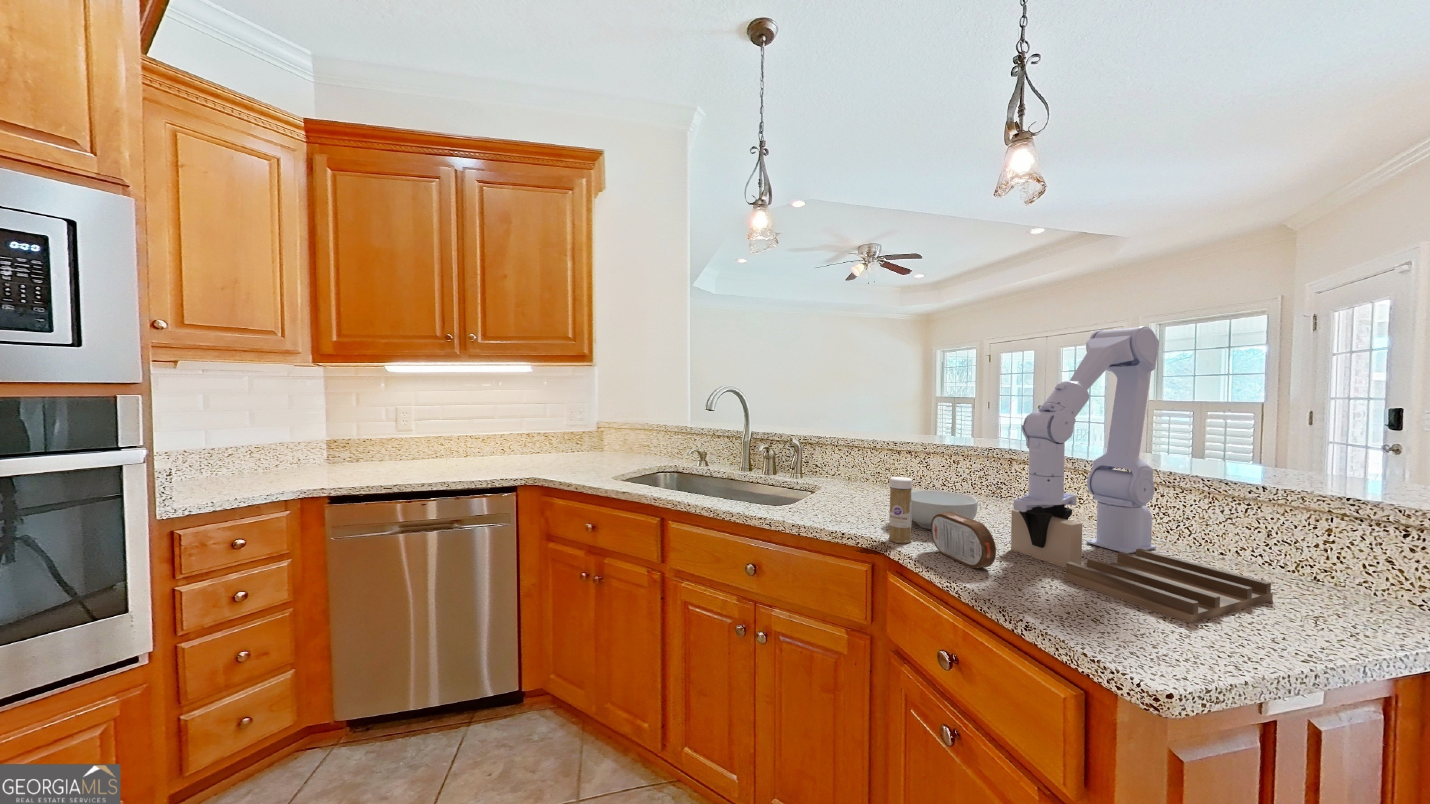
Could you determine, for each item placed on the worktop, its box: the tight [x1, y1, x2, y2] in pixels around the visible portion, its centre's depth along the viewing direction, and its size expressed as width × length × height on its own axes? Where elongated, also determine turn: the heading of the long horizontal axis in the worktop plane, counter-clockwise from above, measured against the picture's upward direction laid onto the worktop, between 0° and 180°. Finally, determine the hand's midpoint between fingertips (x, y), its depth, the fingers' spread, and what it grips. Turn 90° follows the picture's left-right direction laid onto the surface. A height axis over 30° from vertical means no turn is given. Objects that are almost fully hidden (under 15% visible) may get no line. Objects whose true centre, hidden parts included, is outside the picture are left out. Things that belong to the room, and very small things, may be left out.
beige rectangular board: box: [1010, 509, 1083, 568], centre depth 102 cm, size 3×12×8 cm, turn 22°
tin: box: [930, 512, 997, 569], centre depth 100 cm, size 15×3×8 cm, turn 14°
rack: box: [1063, 549, 1274, 625], centre depth 86 cm, size 21×18×3 cm
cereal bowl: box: [911, 489, 979, 530], centre depth 124 cm, size 17×17×7 cm
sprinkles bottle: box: [888, 476, 913, 545], centre depth 112 cm, size 5×5×14 cm
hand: (1044, 545), depth 102 cm, fingers closed on beige rectangular board, 3 cm apart
